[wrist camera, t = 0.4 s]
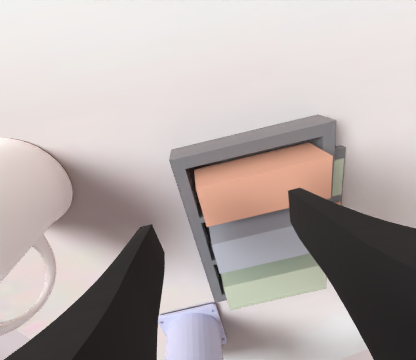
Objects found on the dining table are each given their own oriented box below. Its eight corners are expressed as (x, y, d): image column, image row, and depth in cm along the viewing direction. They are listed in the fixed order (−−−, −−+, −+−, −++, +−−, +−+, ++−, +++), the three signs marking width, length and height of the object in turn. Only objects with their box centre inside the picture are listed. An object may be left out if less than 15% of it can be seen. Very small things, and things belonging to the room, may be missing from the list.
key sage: (309, 262, 25) (326, 288, 22) (224, 281, 25) (229, 310, 22) (309, 238, 23) (327, 263, 20) (218, 259, 24) (223, 287, 21)
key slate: (308, 225, 23) (328, 248, 20) (215, 247, 23) (219, 274, 20) (308, 196, 21) (329, 217, 18) (207, 219, 21) (211, 244, 18)
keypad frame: (315, 259, 27) (327, 276, 25) (212, 283, 27) (215, 302, 25) (317, 114, 19) (336, 120, 17) (171, 149, 19) (169, 160, 17)
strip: (336, 233, 26) (339, 237, 25) (319, 237, 26) (322, 241, 25) (342, 145, 21) (347, 148, 20) (321, 150, 21) (325, 153, 20)
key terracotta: (308, 179, 20) (330, 198, 17) (203, 203, 20) (206, 227, 17) (308, 142, 18) (332, 156, 15) (194, 169, 19) (195, 188, 16)
